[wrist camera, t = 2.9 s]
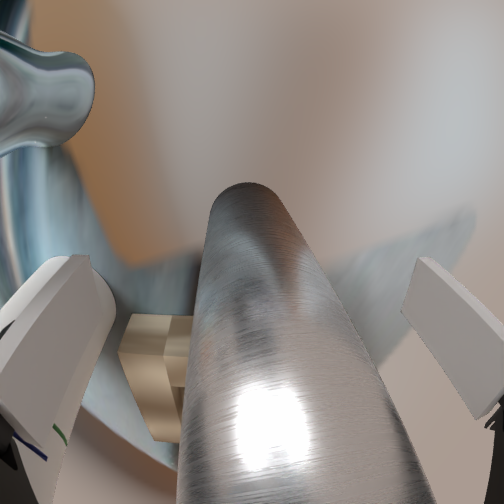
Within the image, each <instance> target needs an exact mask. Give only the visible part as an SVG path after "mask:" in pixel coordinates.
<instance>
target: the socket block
mask: <svg viewBox="0 0 504 504" xmlns="http://www.w3.org/2000/svg"><path fill="white" fill-rule="evenodd" d="M192 323H193V316H182V315H153V314H133V313H132V315H131V317H130V320H129V322H128V325H127V327H126V330H125V333H124V335H123V338H122V340H121V343H120V346H119V348H118V351H117V353H118V356H119V359H120V362H121V365H122V368H123V370H124V373H125V376H126V378H127V381H128V383H129V386H130V388H131V391H132V393H133V396H134V398H135V400H136V403H137V405H138V407H139V410H140V412H141V414H142V416H143V419H144V421H145V423H146V425H147V427H148V429H149V431H150V433H151V435H152V437H153V439H154V441H161V442H171V443H180V434H181V422H182V411H183V400H184V390H185V388H184V387H185V381H186V372H187V363H188V355H189V347H190V339H191V331H192Z"/></svg>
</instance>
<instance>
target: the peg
mask: <svg viewBox="0 0 504 504" xmlns="http://www.w3.org/2000/svg"><path fill="white" fill-rule="evenodd" d="M176 504H437V503H436V500H435V497H434V495H433V492H432V490H431V488H430V485H429V482H428V480H427V477H426V475H425V473H424V470H423V468H422V465H421V463H420V461H419V458H418V456H417V454H416V451H415V449H414V447H413V445H412V442H411V440H410V438H409V436H408V434H407V431H406V429H405V427H404V425H403V423H402V421H401V418H400V416H399V414H398V412H397V410H396V408H395V406H394V404H393V402H392V399H391V397H390V395H389V393H388V391H387V389H386V387H385V385H384V383H383V381H382V379H381V377H380V375H379V373H378V371H377V369H376V367H375V365H374V363H373V361H372V359H371V357H370V355H369V354H368V352H367V350H366V348H365V346H364V344H363V342H362V340H361V338H360V336H359V334H358V333H357V331H356V329H355V327H354V325H353V323H352V321H351V320H350V318H349V316H348V314H347V312H346V311H345V309H344V307H343V305H342V303H341V301H340V300H339V298H338V296H337V294H336V293H335V291H334V289H333V287H332V285H331V284H330V282H329V280H328V278H327V277H326V275H325V273H324V272H323V270H322V268H321V266H320V265H319V263H318V261H317V260H316V258H315V256H314V254H313V253H312V251H311V249H310V248H309V246H308V244H307V243H306V241H305V239H304V238H303V236H302V234H301V233H300V231H299V229H298V228H297V226H296V224H295V223H294V221H293V220H292V218H291V216H290V215H289V213H288V211H287V210H286V208H285V207H284V205H283V203H282V202H281V200H280V199H279V197H278V196H277V195H276V194H275V193H274V192H273V191H272V190H270V189H269V188H267V187H265V186H264V185H261V184H257V183H251V182H248V183H247V182H245V183H239V184H236V185H233V186H231V187H229V188H227V189H225V190H224V191H223V192H222V193H221V194H220V195H219V196H218V197H217V198H216V200H215V201H214V203H213V205H212V208H211V211H210V217H209V222H208V228H207V233H206V239H205V245H204V251H203V257H202V263H201V269H200V276H199V282H198V289H197V295H196V302H195V309H194V316H193V323H192V331H191V339H190V347H189V355H188V363H187V372H186V381H185V390H184V400H183V411H182V422H181V434H180V446H179V461H178V478H177V498H176Z"/></svg>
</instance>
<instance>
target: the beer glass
mask: <svg viewBox="0 0 504 504" xmlns="http://www.w3.org/2000/svg"><path fill="white" fill-rule="evenodd" d="M94 94H95V81H94V76H93V73H92V70H91V68H90V66H89V65H88V63H87V62H86V61H85V60H84V59H83V58H82V57H81V56H79V55H77V54H75V53H71V52H42V51H38V50H35V49H33V48H31V47H29V46H27V45H25V44H24V43H22V42H20V41H19V40H17V39H15V38H14V37H12V36H10V35H9V34H7V33H5V32H3V31H1V30H0V159H1V158H2V157H4V156H6V155H7V154H9V153H11V152H13V151H15V150H17V149H20V148H23V147H54V146H58V145H60V144H63V143H64V142H66V141H68V140H69V139H70V138H72V137H73V136H74V135H75V134H76V133H77V132H78V131H79V130H80V128H81V127H82V126H83V124H84V123H85V121H86V119H87V117H88V115H89V113H90V111H91V108H92V104H93V100H94Z"/></svg>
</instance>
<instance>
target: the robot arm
mask: <svg viewBox="0 0 504 504" xmlns="http://www.w3.org/2000/svg"><path fill="white" fill-rule="evenodd" d="M401 312H402V313H403V315H404V316H405V317H406V319H407V320H408V321H409V323H410V324H411V325H412V327H413V328H414V329H415V331H416V332H417V333H418V335H419V336H420V338H421V339H422V340H423V342H424V343H425V344H426V346H427V347H428V349H429V350H430V351H431V353H432V354H433V356H434V357H435V359H436V360H437V361H438V363H439V364H440V366H441V367H442V369H443V370H444V372H445V373H446V375H447V376H448V377H449V379H450V380H451V382H452V384H453V385H454V387H455V388H456V390H457V391H458V393H459V394H460V396H461V398H462V399H463V401H464V402H465V404H466V406H467V407H468V409H469V410H470V412H471V414H472V415H473V417H474V419H475V420H477V419H479V418H481V417H483V416H485V415H487V414H488V413H489V412H490V411H491V410H492V409H493V407H494V406H495V405H496V404H497V402H499V404H500V405H501V406H500V407H499V409H498V410H497V411H496V412H495V413H494V415H493V416H492V417H491V418H490V419H489V420H488V421H487V423H486V424H485V427H484V428H487V427H488V426H489V425H490V424H491V423H492V422H493V421H495V423H494V424H493V425H492V426H491V427H490V430H494V431H495V438H494V448H493V456H492V464H491V471H490V477H489V482H488V487H487V492H486V497H485V501H484V504H504V325H503V324H502V323H501V322H500V321H499V320H498V319H497V318H496V317H495V316H494V315H493V314H492V313H491V312H490V311H489V310H488V309H487V308H486V307H485V306H484V305H483V304H482V303H481V302H480V301H479V300H478V299H477V298H476V297H475V296H474V295H473V294H472V293H471V292H470V291H469V290H467V289H466V288H465V287H464V286H463V285H462V284H461V283H460V282H459V281H458V280H456V279H455V278H454V277H453V276H452V275H451V274H450V273H448V272H447V271H446V270H445V269H444V268H443V267H441V266H440V265H439V264H438V263H437V262H436V261H434V260H433V259H432V258H431V257H418V258H417V262H416V265H415V269H414V272H413V275H412V279H411V282H410V285H409V288H408V291H407V294H406V297H405V300H404V303H403V306H402V308H401ZM102 315H103V312H102V309H101V305H100V301H99V297H98V293H97V289H96V285H95V281H94V277H93V272H92V268H91V263H90V258H89V255H72V256H71V257H70V258H69V259H68V260H67V261H66V262H65V263H64V264H63V265H62V266H61V267H60V269H59V270H58V271H57V272H56V273H55V274H54V275H53V276H52V277H51V278H50V279H49V281H48V282H47V283H46V284H45V285H44V286H43V287H42V288H41V290H40V291H39V292H38V293H37V294H36V295H35V297H34V298H33V299H32V300H31V301H30V303H29V304H28V305H27V306H26V307H25V309H24V310H23V311H22V312H21V314H20V315H19V316H18V317H17V319H16V320H14V321H12V322H11V323H10V324H8V325H7V326H6V327H4V328H3V329H2V331H1V332H0V504H39V503H38V501H37V499H36V496H35V494H34V492H33V489H32V487H31V484H30V482H29V479H28V476H27V474H26V471H25V468H24V465H23V462H22V459H21V456H20V453H19V450H18V447H17V444H16V442H15V440H14V439H13V438H12V436H13V434H14V431H15V432H16V433H17V434H18V435H19V436H20V437H21V438H22V439H23V440H24V441H25V442H27V443H30V444H32V445H35V446H37V447H40V448H43V449H44V446H45V443H46V441H47V438H48V435H49V432H50V430H51V427H52V424H53V422H54V419H55V417H56V414H57V411H58V409H59V406H60V404H61V402H62V399H63V397H64V394H65V392H66V390H67V387H68V385H69V383H70V381H71V378H72V376H73V374H74V372H75V370H76V367H77V365H78V363H79V361H80V359H81V357H82V355H83V353H84V351H85V349H86V347H87V345H88V343H89V341H90V339H91V337H92V335H93V333H94V331H95V329H96V327H97V325H98V323H99V321H100V319H101V317H102Z"/></svg>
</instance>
